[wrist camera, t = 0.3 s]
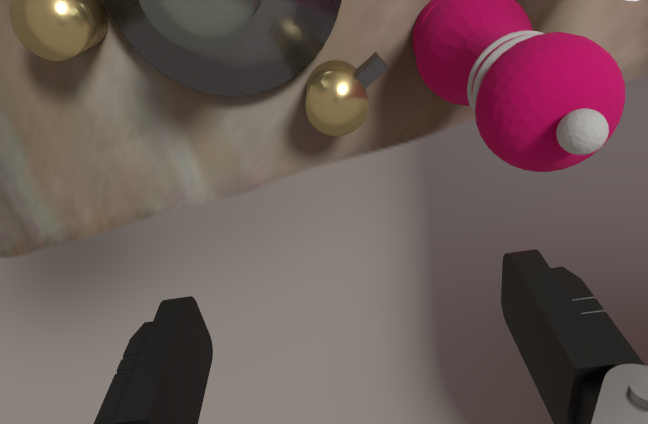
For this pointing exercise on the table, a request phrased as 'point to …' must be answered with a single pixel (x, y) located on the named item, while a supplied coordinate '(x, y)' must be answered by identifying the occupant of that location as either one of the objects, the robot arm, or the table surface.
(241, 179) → the table surface
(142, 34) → the base
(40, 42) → the brass head mallet
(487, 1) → the pepper mill
